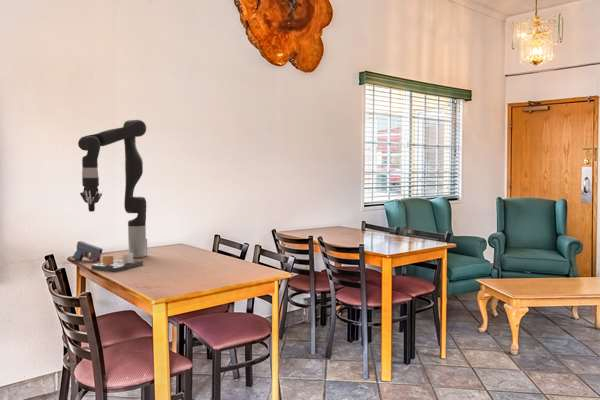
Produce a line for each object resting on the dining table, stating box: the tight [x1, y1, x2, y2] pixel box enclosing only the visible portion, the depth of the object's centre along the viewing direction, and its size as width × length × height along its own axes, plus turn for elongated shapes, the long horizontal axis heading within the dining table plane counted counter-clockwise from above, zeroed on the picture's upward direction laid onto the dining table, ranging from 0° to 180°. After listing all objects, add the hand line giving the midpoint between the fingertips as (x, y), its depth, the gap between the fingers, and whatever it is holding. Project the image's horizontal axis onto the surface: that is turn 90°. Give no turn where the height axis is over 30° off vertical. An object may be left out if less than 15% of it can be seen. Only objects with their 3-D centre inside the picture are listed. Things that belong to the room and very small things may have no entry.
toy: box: [72, 240, 103, 262], centre depth 256 cm, size 3×16×10 cm, turn 77°
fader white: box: [122, 252, 134, 263], centre depth 239 cm, size 4×3×5 cm
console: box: [90, 258, 144, 273], centre depth 240 cm, size 18×16×2 cm
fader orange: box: [102, 254, 114, 266], centre depth 234 cm, size 4×3×5 cm
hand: (91, 211), depth 241 cm, fingers closed
